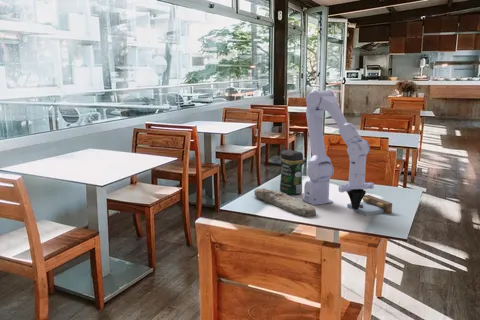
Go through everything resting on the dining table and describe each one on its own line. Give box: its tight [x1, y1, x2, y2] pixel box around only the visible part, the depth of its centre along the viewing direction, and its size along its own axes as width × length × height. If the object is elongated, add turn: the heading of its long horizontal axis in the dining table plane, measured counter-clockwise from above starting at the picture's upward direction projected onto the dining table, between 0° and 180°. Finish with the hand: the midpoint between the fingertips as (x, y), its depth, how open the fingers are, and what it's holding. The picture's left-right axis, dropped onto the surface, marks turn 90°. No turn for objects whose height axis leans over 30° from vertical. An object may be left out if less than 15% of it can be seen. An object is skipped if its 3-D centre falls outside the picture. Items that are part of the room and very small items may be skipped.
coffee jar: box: [279, 149, 304, 196], centre depth 186 cm, size 10×8×19 cm
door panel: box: [346, 201, 385, 216], centre depth 164 cm, size 8×11×3 cm
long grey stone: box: [254, 188, 317, 218], centre depth 170 cm, size 35×5×10 cm
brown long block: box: [362, 194, 393, 214], centre depth 165 cm, size 4×13×4 cm, turn 23°
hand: (355, 208), depth 161 cm, fingers closed
